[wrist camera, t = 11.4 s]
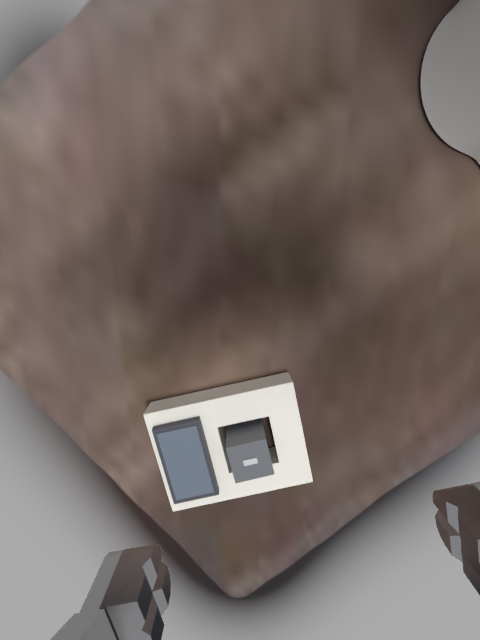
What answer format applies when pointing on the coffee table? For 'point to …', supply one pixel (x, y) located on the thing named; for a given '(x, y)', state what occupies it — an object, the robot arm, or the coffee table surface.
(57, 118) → the coffee table surface
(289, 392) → the switch plate
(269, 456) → the rocker switch
